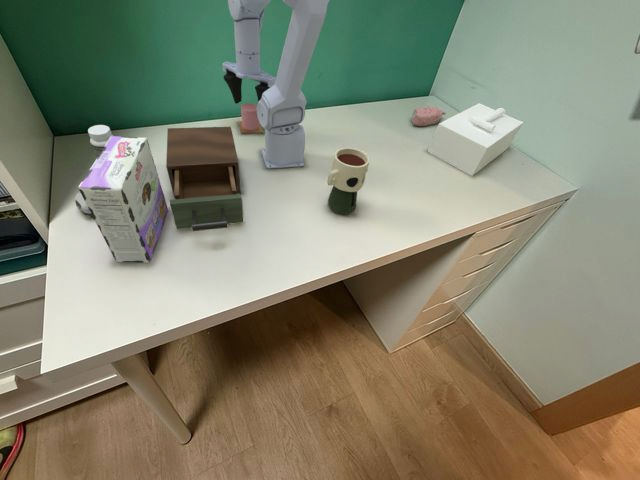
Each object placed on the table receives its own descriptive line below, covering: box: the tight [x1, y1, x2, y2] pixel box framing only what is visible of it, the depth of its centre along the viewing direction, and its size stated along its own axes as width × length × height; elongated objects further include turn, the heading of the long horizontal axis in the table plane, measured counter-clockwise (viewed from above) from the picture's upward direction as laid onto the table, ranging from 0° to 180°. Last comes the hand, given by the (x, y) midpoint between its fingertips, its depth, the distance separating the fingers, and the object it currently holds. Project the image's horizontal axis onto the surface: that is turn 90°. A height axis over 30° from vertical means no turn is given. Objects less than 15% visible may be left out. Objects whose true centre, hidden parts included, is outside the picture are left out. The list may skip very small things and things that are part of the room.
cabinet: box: [165, 126, 242, 199], centre depth 72 cm, size 15×14×8 cm
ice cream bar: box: [411, 106, 446, 127], centre depth 107 cm, size 6×4×15 cm
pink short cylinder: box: [240, 102, 260, 130], centre depth 90 cm, size 5×5×6 cm
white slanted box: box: [427, 102, 524, 177], centre depth 95 cm, size 14×25×11 cm, turn 135°
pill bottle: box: [87, 124, 114, 158], centre depth 71 cm, size 5×5×8 cm
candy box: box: [77, 135, 169, 264], centre depth 55 cm, size 14×6×16 cm, turn 5°
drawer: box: [169, 166, 245, 232], centre depth 64 cm, size 18×12×6 cm
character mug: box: [327, 146, 371, 215], centre depth 69 cm, size 11×7×13 cm, turn 130°
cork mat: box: [238, 120, 264, 135], centre depth 92 cm, size 6×6×1 cm
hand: (249, 106), depth 87 cm, fingers open, 7 cm apart
